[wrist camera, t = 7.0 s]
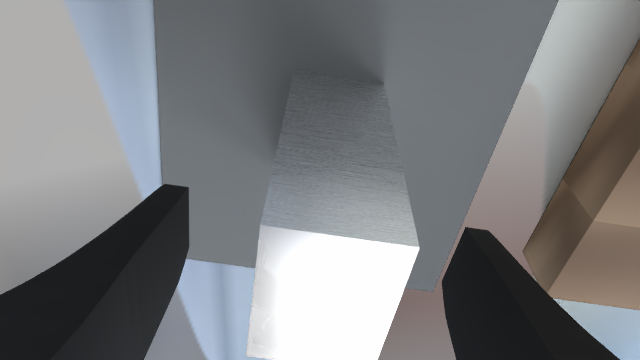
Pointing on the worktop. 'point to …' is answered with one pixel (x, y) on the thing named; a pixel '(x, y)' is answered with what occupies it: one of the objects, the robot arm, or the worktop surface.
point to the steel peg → (332, 226)
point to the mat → (347, 61)
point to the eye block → (597, 209)
